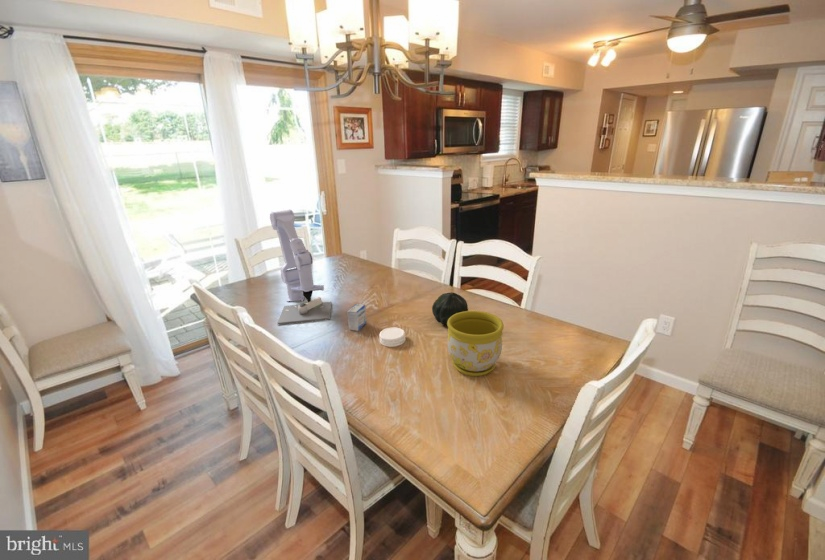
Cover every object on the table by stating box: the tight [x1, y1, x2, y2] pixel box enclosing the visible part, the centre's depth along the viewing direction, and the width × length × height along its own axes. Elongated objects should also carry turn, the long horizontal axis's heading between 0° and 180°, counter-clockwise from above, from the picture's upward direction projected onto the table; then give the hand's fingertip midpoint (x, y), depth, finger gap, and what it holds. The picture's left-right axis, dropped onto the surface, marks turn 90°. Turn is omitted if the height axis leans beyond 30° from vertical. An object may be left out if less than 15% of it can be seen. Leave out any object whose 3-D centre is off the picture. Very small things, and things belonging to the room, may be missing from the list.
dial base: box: [277, 301, 332, 325], centre depth 165 cm, size 18×22×1 cm
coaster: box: [378, 326, 406, 348], centre depth 139 cm, size 10×10×4 cm
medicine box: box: [346, 303, 367, 332], centre depth 151 cm, size 8×4×9 cm, turn 161°
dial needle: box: [297, 296, 322, 314], centre depth 167 cm, size 13×4×4 cm, turn 148°
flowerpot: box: [446, 310, 505, 377], centre depth 119 cm, size 18×18×16 cm
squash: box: [431, 292, 469, 325], centre depth 151 cm, size 14×15×15 cm
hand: (309, 305), depth 170 cm, fingers closed
